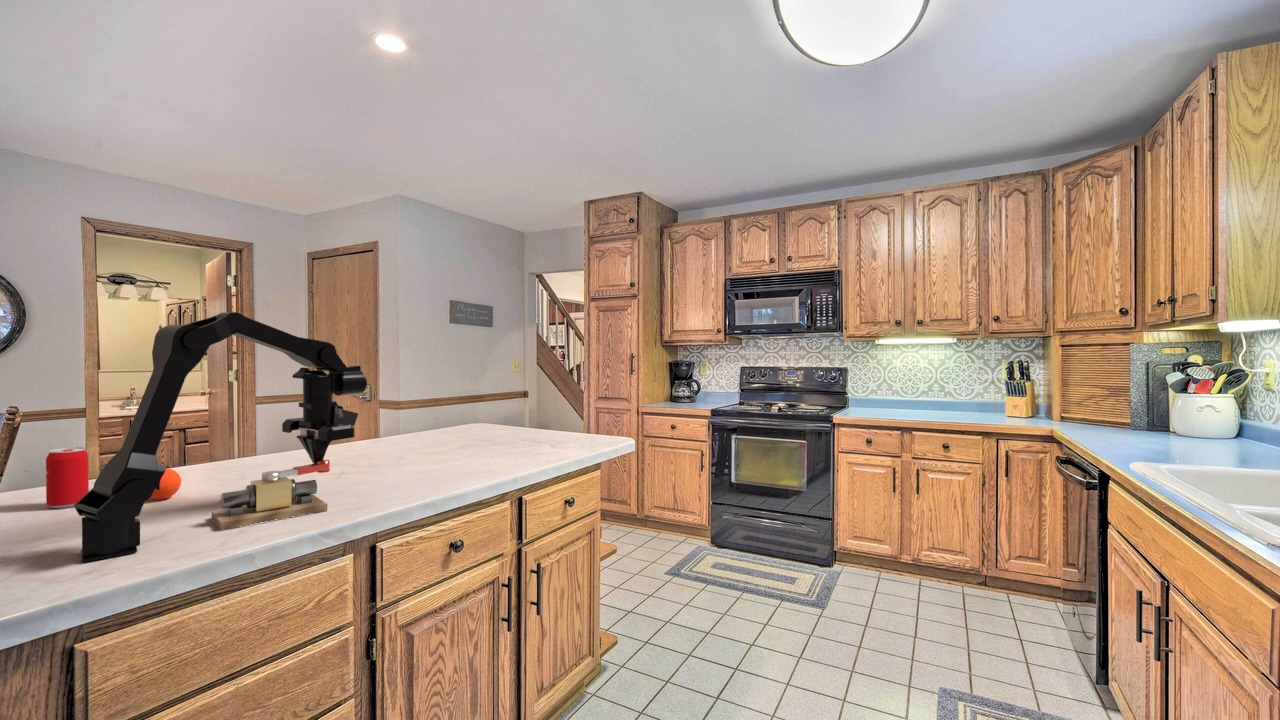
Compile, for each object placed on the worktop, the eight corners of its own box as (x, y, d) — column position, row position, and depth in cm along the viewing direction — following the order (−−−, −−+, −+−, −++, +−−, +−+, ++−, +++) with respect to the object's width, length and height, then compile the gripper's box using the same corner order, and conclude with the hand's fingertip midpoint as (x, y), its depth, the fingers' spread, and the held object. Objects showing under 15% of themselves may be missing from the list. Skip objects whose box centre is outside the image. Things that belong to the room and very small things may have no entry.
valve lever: (267, 484, 109) (267, 472, 109) (258, 482, 110) (258, 470, 110) (333, 471, 121) (333, 460, 121) (324, 469, 123) (324, 459, 123)
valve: (225, 518, 104) (225, 490, 103) (220, 512, 107) (220, 485, 107) (318, 502, 115) (318, 476, 115) (311, 497, 119) (311, 472, 119)
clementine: (158, 505, 116) (158, 472, 116) (126, 504, 116) (126, 471, 116) (189, 495, 124) (189, 464, 124) (159, 494, 124) (159, 464, 124)
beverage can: (83, 499, 119) (83, 445, 119) (93, 504, 116) (92, 448, 116) (42, 506, 114) (41, 450, 114) (50, 511, 111) (50, 453, 111)
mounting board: (220, 530, 101) (221, 522, 101) (211, 518, 108) (211, 511, 108) (327, 511, 114) (327, 504, 114) (313, 501, 121) (313, 494, 121)
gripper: (376, 397, 124) (376, 465, 124) (329, 391, 133) (329, 454, 133) (328, 402, 114) (328, 475, 115) (280, 395, 123) (281, 463, 124)
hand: (317, 466), depth 122 cm, fingers closed
